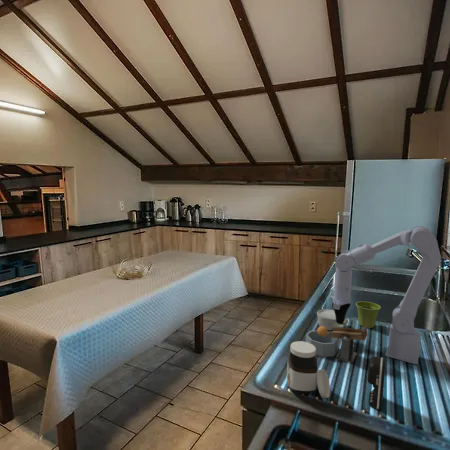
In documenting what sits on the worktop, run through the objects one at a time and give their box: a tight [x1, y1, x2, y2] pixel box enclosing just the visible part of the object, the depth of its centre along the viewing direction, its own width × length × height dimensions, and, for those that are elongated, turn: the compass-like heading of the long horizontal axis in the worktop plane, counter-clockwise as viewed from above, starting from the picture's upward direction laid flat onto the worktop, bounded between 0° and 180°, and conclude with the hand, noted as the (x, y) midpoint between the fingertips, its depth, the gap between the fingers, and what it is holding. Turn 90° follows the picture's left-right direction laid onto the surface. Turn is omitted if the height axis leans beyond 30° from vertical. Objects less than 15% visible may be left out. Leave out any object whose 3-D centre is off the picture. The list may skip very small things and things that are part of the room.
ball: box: [317, 325, 329, 337], centre depth 112 cm, size 4×4×4 cm
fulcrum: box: [335, 335, 358, 364], centre depth 108 cm, size 5×8×8 cm, turn 146°
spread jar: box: [286, 340, 331, 399], centre depth 89 cm, size 12×11×12 cm
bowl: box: [304, 330, 340, 358], centre depth 112 cm, size 10×10×4 cm
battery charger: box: [366, 355, 386, 410], centre depth 85 cm, size 7×4×11 cm, turn 152°
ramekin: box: [316, 308, 347, 331], centre depth 132 cm, size 11×11×5 cm
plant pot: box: [355, 300, 382, 329], centre depth 134 cm, size 9×9×9 cm
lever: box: [328, 319, 368, 341], centre depth 112 cm, size 12×16×3 cm
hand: (339, 322), depth 118 cm, fingers closed, pressing on lever
